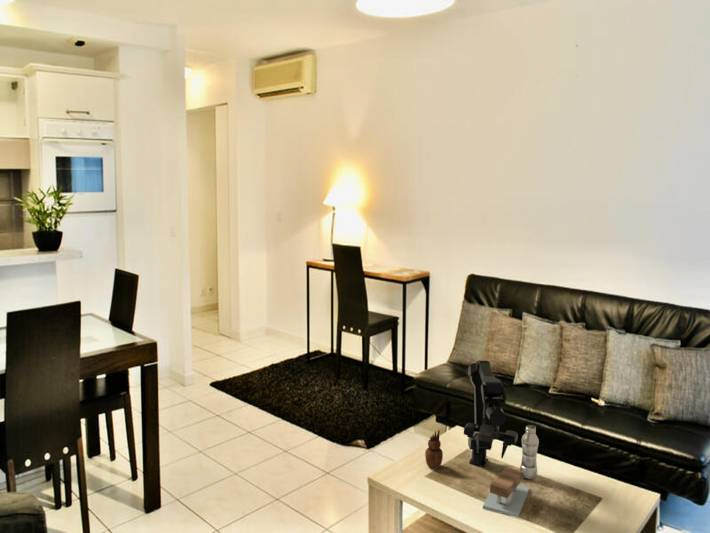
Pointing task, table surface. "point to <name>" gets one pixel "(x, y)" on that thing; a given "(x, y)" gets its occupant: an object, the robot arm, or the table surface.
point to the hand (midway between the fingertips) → (489, 455)
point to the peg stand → (507, 502)
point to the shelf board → (506, 482)
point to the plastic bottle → (529, 452)
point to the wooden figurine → (434, 452)
